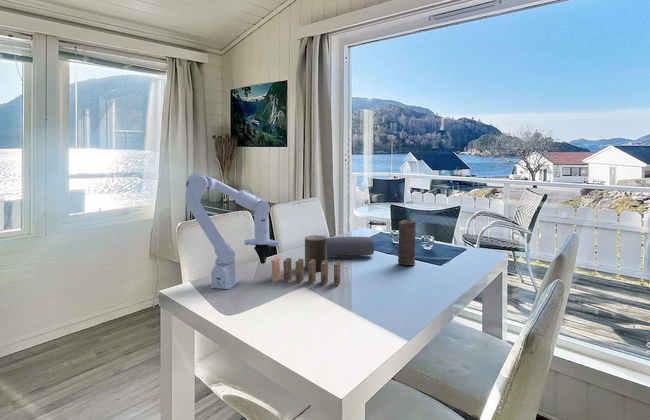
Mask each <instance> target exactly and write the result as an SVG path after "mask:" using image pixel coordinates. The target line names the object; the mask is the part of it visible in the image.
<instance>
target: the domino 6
mask: <svg viewBox="0 0 650 420" xmlns="http://www.w3.org/2000/svg"><path fill="white" fill-rule="evenodd" d="M340 284H341V261H340V260H336V261H335V262H334V264H333V287H339V286H340ZM338 285H339V286H338Z"/></svg>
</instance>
